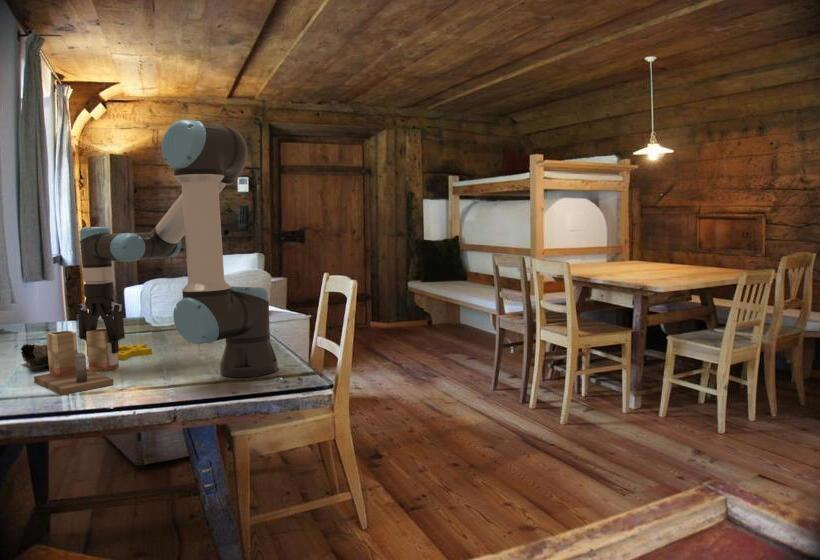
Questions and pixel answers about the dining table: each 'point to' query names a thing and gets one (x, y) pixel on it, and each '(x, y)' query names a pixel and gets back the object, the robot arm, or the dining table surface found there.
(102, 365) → the sleeve
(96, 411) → the dining table surface
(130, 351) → the star of david
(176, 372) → the dining table surface
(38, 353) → the rock
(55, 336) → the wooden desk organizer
